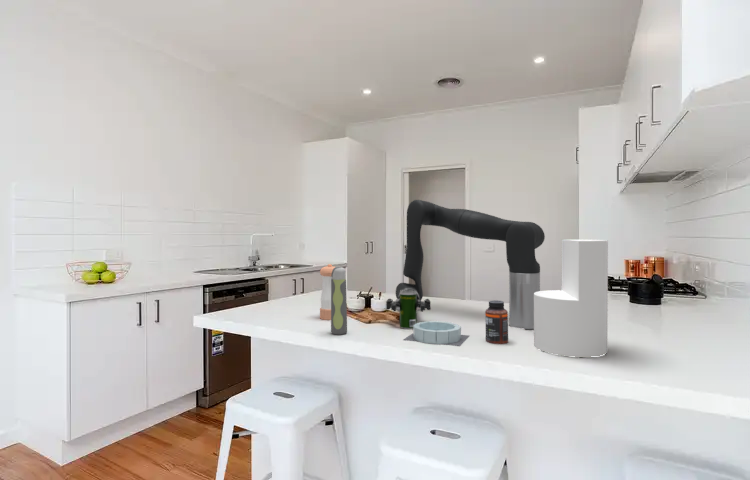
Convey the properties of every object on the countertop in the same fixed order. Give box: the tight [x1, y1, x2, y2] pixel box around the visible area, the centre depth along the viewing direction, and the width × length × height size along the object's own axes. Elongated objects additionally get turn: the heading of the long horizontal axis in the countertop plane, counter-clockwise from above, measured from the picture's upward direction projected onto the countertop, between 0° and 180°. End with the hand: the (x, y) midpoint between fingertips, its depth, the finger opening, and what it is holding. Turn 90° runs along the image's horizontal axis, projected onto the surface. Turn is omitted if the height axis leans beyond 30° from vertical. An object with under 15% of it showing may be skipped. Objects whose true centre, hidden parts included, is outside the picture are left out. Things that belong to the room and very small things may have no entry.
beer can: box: [399, 289, 418, 330], centre depth 131 cm, size 5×5×12 cm
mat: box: [402, 333, 470, 347], centre depth 118 cm, size 16×12×1 cm
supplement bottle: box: [484, 299, 509, 345], centre depth 114 cm, size 6×6×11 cm
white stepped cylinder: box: [533, 239, 609, 357], centre depth 108 cm, size 17×17×28 cm
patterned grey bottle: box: [330, 266, 348, 336], centre depth 126 cm, size 5×5×20 cm
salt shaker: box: [319, 263, 336, 321], centre depth 148 cm, size 7×7×19 cm
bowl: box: [412, 320, 462, 345], centre depth 118 cm, size 13×13×3 cm
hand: (408, 308), depth 130 cm, fingers open, 8 cm apart
